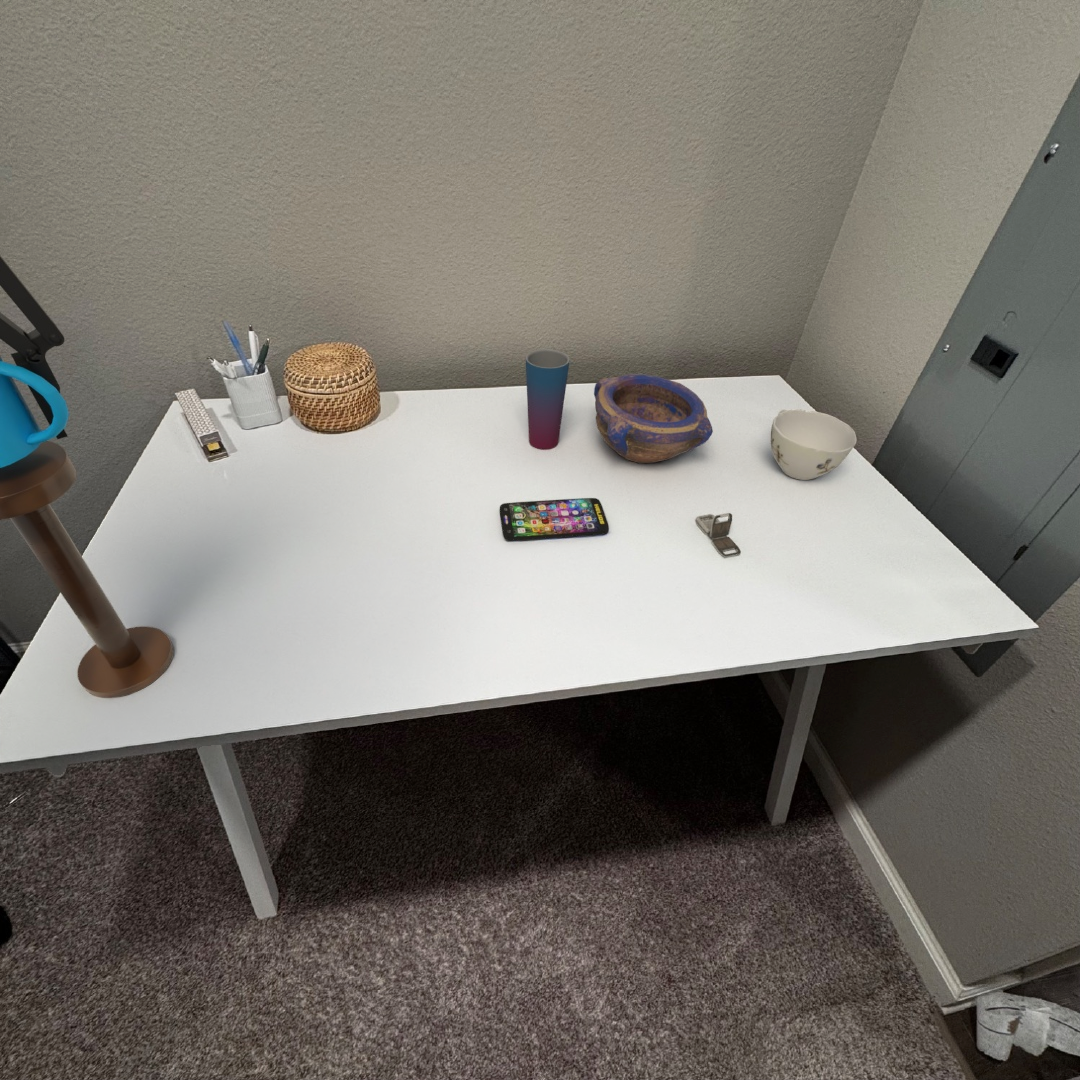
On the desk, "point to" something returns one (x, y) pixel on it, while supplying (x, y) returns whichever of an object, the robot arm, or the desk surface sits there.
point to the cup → (545, 395)
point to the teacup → (810, 442)
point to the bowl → (649, 417)
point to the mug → (25, 414)
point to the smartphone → (553, 519)
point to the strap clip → (718, 532)
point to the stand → (79, 577)
